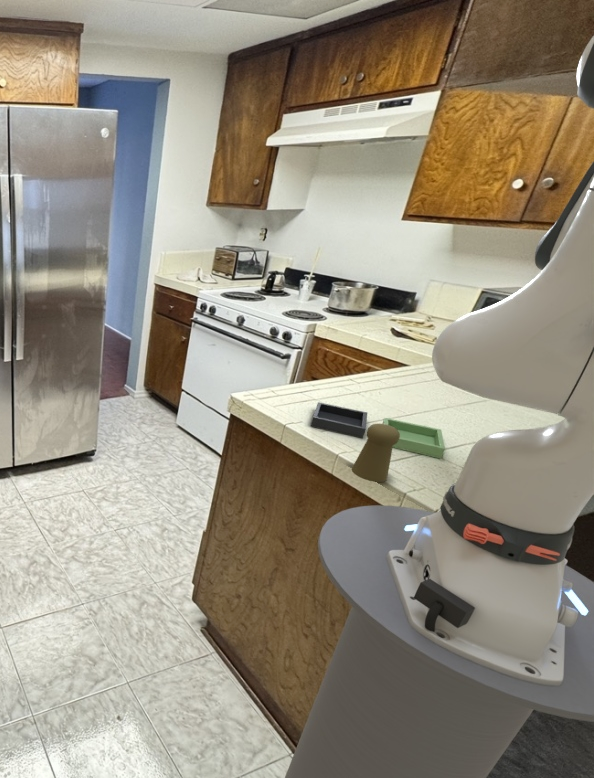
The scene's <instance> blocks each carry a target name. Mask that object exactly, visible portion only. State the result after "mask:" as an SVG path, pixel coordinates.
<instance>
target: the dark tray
mask: <svg viewBox="0 0 594 778" xmlns="http://www.w3.org/2000/svg"><path fill="white" fill-rule="evenodd" d="M367 421H368V411H364V410H363V411H362V410H359V409H358V410H357V409H354V408H348V407H343V406H338V405H334V404H329V403H324V402H317V404H316V407H315V410H314V412H313V416H312V419H311V423H310V427H312V428H317V429H321V430H325V431H329V432H334V433H338V434H342V435H347V436H350V437H354V438H360V439H363V438H364V435H365V433H366V431H367V430H366V429H367Z"/></svg>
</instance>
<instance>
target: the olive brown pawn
mask: <svg viewBox="0 0 594 778" xmlns="http://www.w3.org/2000/svg"><path fill="white" fill-rule="evenodd" d="M366 437H367V440H366V441H365V443H364V445H363V447H362V449H361V451H360V452H359V454H358V456H357V457H356V459H355V461H354V463H353V465H352V467H351V472H352V473H353V474H354V475H355V476H357V477H358V478H361V479H363V480H365V481H369V482H373V483H384V482H386V481H388V475H389V470H390V465H391V459H392V455H393V454H392V453H393V448H394V447H393V445H394V444H396V443H397V442H398V441H399V438H400V433H399V431H398V430H397V429H396V428H394V427H392V426H389V425H386V424H382V423H372V424H371V425H370V426H369V427H368V428H367V430H366Z"/></svg>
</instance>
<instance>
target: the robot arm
mask: <svg viewBox="0 0 594 778" xmlns="http://www.w3.org/2000/svg"><path fill="white" fill-rule="evenodd" d="M576 83H577V93H576V94H577V97H578V98H579V99H580V100H581V102H583V103H584V104H585V105H586V106H587V107H588V108H590V109H593V110H594V35H593V36H592V37H591V39H590V40H589V41H588V43H587V45H586V46H585V48H584V50H583V51H582V54H581V56H580V59H579V61H578V65H577V70H576ZM534 263H535V266H536V267H537V269H538V270H540V271H539V273H538V274H537V275H536V276H535V277H534V278H532V279H531V280H530V281H529V282H528V283H526V284H525V285H524V286H523V287H522V288H520V289H518V290H517V291H515V292H514V293H512V294H511V295H509V296H508V297H505V298H503V299H502V300H500V301H498V302H496V303H493V304H491V305H488V306H486V307H484V308H481V309H477V310H475V311H474V310H473V311H471V312H468V313H466V314H465V315H463V316H461V317H459V318H457V319H455V320H454V321H453V322H451V323H449V325H448V326H446V327H445V328H444V329H443V330H442V332H441V333H439V336H438V337H437V339H436V340H435V342H434V345H433V348H432V354H431V360H432V366H433V369H434V372H435V374H436V375H437V377H438V378H439V379H440V381H441V382H442V383H445V384H447V385H449V386H452V387H454V388H457V389H460V390H462V391H465V392H468V393H469V394H473V395H475V396H478V397H480V398H483V399H488V400H492V401H497V402H500V403H501V402H502V403H506V404H510V405H514V406H515V405H516V406H519V407H523V408H527V409H532V410H536V411H541V412H545V413H549V414H555V415H557V416H559V417H561V418H563V419H561V421H559V422H556V423H554V424H551V425H548V426H544V427H537V428H529V429H528V428H526V429H525V428H524V429H508V430H503V431H498V432H494V433H490V434H488V435H486V436H484V437H482V438H480V439H478V441H476V442H475V443H474V444H473V446H472V447H471V449H470V451H469V454H468V456H467V458H466V460H465V462H464V465H463V467H462V469H461V471H460V473H459V476H458V478H457V480H456V482H455V483H453V484H451V485H450V486H449V488H448V490H447V491H446V492H445V494H444V496H443V498H442V503H441V504H440V508H439V510H437V511H436V512H435V513H434V514H432V515H428V516H425V517H422V518H421V519H420V520H419V522H418V524H416V525H408V526H406V527H405V530H406V531H410V530H414V532H413V534H412V536H411V538H410V540H409V542H408V544H407V545H406V547H405V549H404V550H391V551H389V553H388V554H387V556H386V558H387V561H388V564H389V567H390V570H391V573H392V575H393V578H394V581H395V584H396V587H397V590H398V593H399V596H400V598H401V601H402V604H403V607H404V610H405V613H406V616H407V618H408V621H409V623H410V625H411V627H412V628H413V629H415V630H416V631H417V632H419V633H420V634H421V635H423V636H424V637H426V638H427V639H429V640H431V641H432V642H434V643H436V644H437V645H439V646H441V647H443V648H445V649H447V650H449V651H450V652H452V653H454V654H457V655H459V656H461V657H463V658H465V659H467V660H470V661H472V662H474V663H477V664H479V665H481V666H484V667H486V668H489V669H492V670H494V671H497V672H499V673H502V674H505V675H508V676H511V677H513V678H517V679H520V680H523V681H527V682H531V683H535V684H540V685H546V686H560V685H561V683H562V681H563V677H564V648H565V626H567V627H572V626H573V625H574V623H575V621H576V619H577V616H578V611H576V610H575V609H573V608H570V607H568V606H565V605H563V604H561V600H560V599H561V592H562V591H564V592H565V593H566V594H567V596H568V597H569V598H570V600H571V601H572V602H573V604H574V605H575V606H576V607H577V609H578V610H579V611H580V613H581V614H582V615H586V614H587V612H588V610H587V609H586V607H585V606H584V605H583V604H582V602H581V601H580V600H579V599H578V597H577V596H576V595H575V594H574V592H573V591H572V590H571V589H572V585H573V584H572V583H570V582H568V581H566V580H563V575H564V567H565V565H566V566H567V564H568V559H567V558H565V557H566V555H567V552H568V550H569V549H570V548H571V546H572V542H573V536H574V534H575V525H574V524H575V522H576V521H577V518H578V517H579V515H580V514H581V513H582V511H583V509H584V508H585V507H586V505H587V504H588V502H590V500H591V499H592V498H593V496H594V161H593V162H592V163H591V164H590V166H589V168H588V169H587V171H586V172H585V174H584V175H583V177H582V179H581V180H580V182H579V184H578V185H577V187H576V188H575V190H574V192H573V193H572V195H571V197H570V199H569V200H568V202H567V204H566V205H565V207H564V208H563V210H562V212H561V213H560V215H559V217H558V218H557V220H556V221H555V223H554V224H553V225H552V226H551V227H550V228H549V230H548V231H546V233H544V235H543V236H542V237H541V239H540V240H539V242H538V243H537V246H536V248H535V252H534Z"/></svg>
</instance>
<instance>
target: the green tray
mask: <svg viewBox="0 0 594 778" xmlns="http://www.w3.org/2000/svg"><path fill="white" fill-rule="evenodd" d="M381 424H386V425H389V426H392V427H394V428H396V429H397V430H398V431H399V433H400V438H399V441H398V442H397V443H396V444H394V445H393V448H395V449H398V450H403V451H407V452H411V453H415V454H419V455H423V456H428V457H433V458H436V459H442V457H443V456H444V452H445V451H446V447H445V442H444V436H443V431H442V429H440V428H435V427H431V426H427V425H423V424H422V425H421V424H416V423H412V422H408V421H402V420H397V419H392V418H388V417H384V418H383V421H382V423H381Z"/></svg>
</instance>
